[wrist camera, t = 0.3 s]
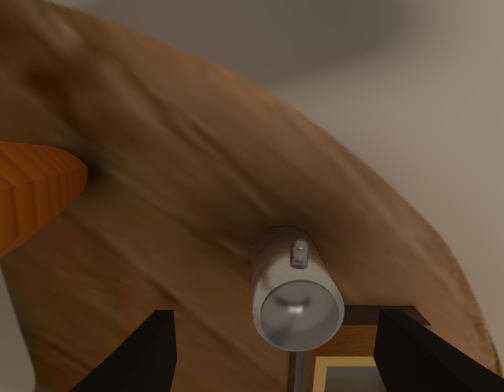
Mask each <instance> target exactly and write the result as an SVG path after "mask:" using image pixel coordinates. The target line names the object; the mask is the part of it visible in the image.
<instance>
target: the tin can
mask: <svg viewBox="0 0 504 392" xmlns="http://www.w3.org/2000/svg"><path fill="white" fill-rule="evenodd" d="M251 270H252V302H253V321H254V325H255V327H256V330H257V331H258V333H259V334H260V336H261V337H262V338H263V339H264V340H265V341H266V342H268V343H269V344H270V345H272V346H274V347H276V348H279V349H282V350H286V351H306V350H310V349H314V348H316V347H319V346H321V345H322V344H324V343H326V342H327V341H328V340H330V339H331V338H332V337H333V336H334V335H335V334H336V332H337V331H338V330H339V328H340V326H341V324H342V321H343V318H344V302H343V299H342V297H341V294H340V292H339V291H338V289H337V287H336V285H335V283H334V281H333V280H332V278H331V276H330V274H329V272H328V270H327V269H326V267H325V265H324V263H323V261H322V259H321V258H320V256H319V254H318V252H317V250H316V248H315V246H314V245H313V243H312V241H311V240H310V238H309V237H308V236H307V235H306V234H305V233H304V232H302V231H301V230H299V229H297V228H294V227H289V226H280V227H275V228H272V229H269V230H267V231H266V232H264V233H263V234H262V235H261V236H260V237H259V238H258V239H257V240H256V242H255V243H254V245H253V248H252V252H251Z"/></svg>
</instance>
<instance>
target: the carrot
mask: <svg viewBox="0 0 504 392" xmlns="http://www.w3.org/2000/svg"><path fill="white" fill-rule="evenodd" d="M87 179H88V167H87V166H86V165H85V164H84V163H83V161H81V160H80V159H79V158H77V157H76V156H75V155H73V154H72V153H69V152H67V151H65V150H62V149H60V148H55V147H49V146H43V145H34V144H24V143H14V142H4V141H0V258H1V257H2V256H4V255H5V254H7V253H9V252H10V251H12V250H13V249H15V248H17V247H18V246H20V245H21V244H23V243H25V242H26V241H27V240H29V239H30V238H31V237H32V236H33V235H35V234H36V233H37V232H38V231H40V230H41V229H42V228H43V227H45V226H46V225H47V224H48V223H49V222H50V221H51V220H53V219H54V218H55V217H56V216H57V215H58V214H59V213H60V212H61V211H63V210H64V209H65V208H66V207H67V206H68V205H69V204H70V203H71V202H73V201H74V200H75V199H76V198H77V197H78V196H79V195H80V194H81V193H82V191H83V189H84V188H85V186H86V184H87Z"/></svg>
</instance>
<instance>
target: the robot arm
mask: <svg viewBox="0 0 504 392" xmlns="http://www.w3.org/2000/svg"><path fill="white" fill-rule="evenodd" d="M373 358H374V361H375V363H376V366H377V369H378V371H379V374H380V376H381V379H382V381H383V384H384V386H385V388H386V391H387V392H504V379H503V378H501V377H500V376H498V375H497V374H495V373H493V372H492V371H490V370H489V369H487V368H485V367H484V366H482V365H481V364H479V363H478V362H476V361H475V360H473V359H471V358H470V357H468V356H467V355H465V354H464V353H462V352H461V351H459V350H458V349H456V348H455V347H453V346H452V345H451V344H449V343H448V342H446V341H445V340H443V339H442V338H440V337H439V336H437V335H436V334H434V333H433V332H432V331H430V330H429V329H427V328H426V327H424V326H423V325H421V324H420V323H418V322H417V321H416V320H414V319H413V318H411V317H410V316H408V315H407V314H405V313H403V312H402V311H400V310H399V309H380V313H379V320H378V327H377V334H376V340H375V347H374V354H373ZM176 361H177V351H176V337H175V324H174V310H155V311H154V312H153V313H152V314H151V315H150V316H149V317H148V318H147V319H146V320H145V321H144V322H143V323H142V324H141V325H140V326H139V327H138V328H137V329H136V330H135V331H134V332H133V333H132V334H131V335H130V336H129V337H128V338H127V339H126V340H125V341H124V342H123V343H122V344H121V345H120V346H119V347H118V348H117V349H116V350H115V351H114V352H113V353H112V354H110V355H109V356H108V357H107V358H106V359H105V360H104V361H103V362H102V363H101V364H100V365H99V366H98V367H96V368H95V369H94V370H93V371H92V372H91V373H90V374H89V375H87V376H86V377H85V378H84V379H83V380H82V381H81V382H80V383H78V384H77V385H76V386H75V387H74V388H73V389H71V390H70V391H69V392H170V389H171V384H172V380H173V376H174V371H175V366H176Z"/></svg>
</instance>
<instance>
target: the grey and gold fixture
mask: <svg viewBox="0 0 504 392" xmlns="http://www.w3.org/2000/svg"><path fill="white" fill-rule="evenodd" d="M380 309H399V310H400V311H402V312H403V313H405V314H407V315H408V316H410V317H411V318H413V319H414V320H416V321H417V322H418V323H420V324H421V325H423V326H424V327H426V328H427V329H429V330H431V325H430V323H429V322H428V321H427V320H426V319H425V318H424V317H423V316H422V315H421V314H420V312H419V311H418V310H417V309H416V308H415V307H414V306H344V318H343V321H342V324H341V326H340V328H339V330H338V331H337V332H336V334H335V335H334V336H333V337H332V338H331V339H330V340H328V341H327V342H326V343H324V344H322V345H321V346H319V347H316V348H314V349H310V350H306V351H291V356H290V371H289V385H288V392H387V391H386V388H385V386H384V384H383V381H382V379H381V376H380V374H379V371H378V369H377V366H376V363H375V361H374V358H373V354H374V347H375V340H376V334H377V327H378V320H379V313H380Z"/></svg>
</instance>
